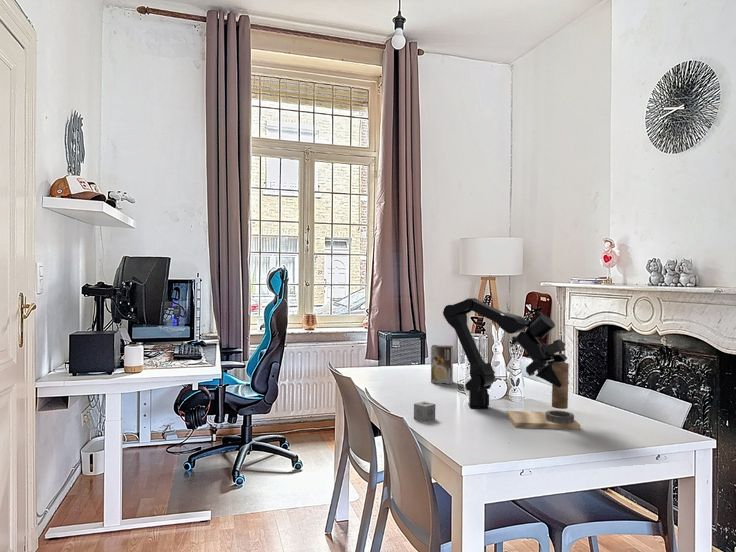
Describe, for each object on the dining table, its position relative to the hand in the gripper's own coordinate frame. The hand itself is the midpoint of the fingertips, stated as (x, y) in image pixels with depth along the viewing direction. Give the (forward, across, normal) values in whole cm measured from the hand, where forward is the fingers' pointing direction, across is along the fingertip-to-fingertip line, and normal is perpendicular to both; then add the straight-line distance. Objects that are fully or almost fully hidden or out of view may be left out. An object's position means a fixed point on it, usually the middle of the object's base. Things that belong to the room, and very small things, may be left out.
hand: (564, 385), depth 167 cm
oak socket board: (+4, -1, +14) cm, 15 cm away
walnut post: (+4, 0, +6) cm, 7 cm away
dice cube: (-15, -27, +34) cm, 46 cm away
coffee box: (-37, +24, +56) cm, 72 cm away
